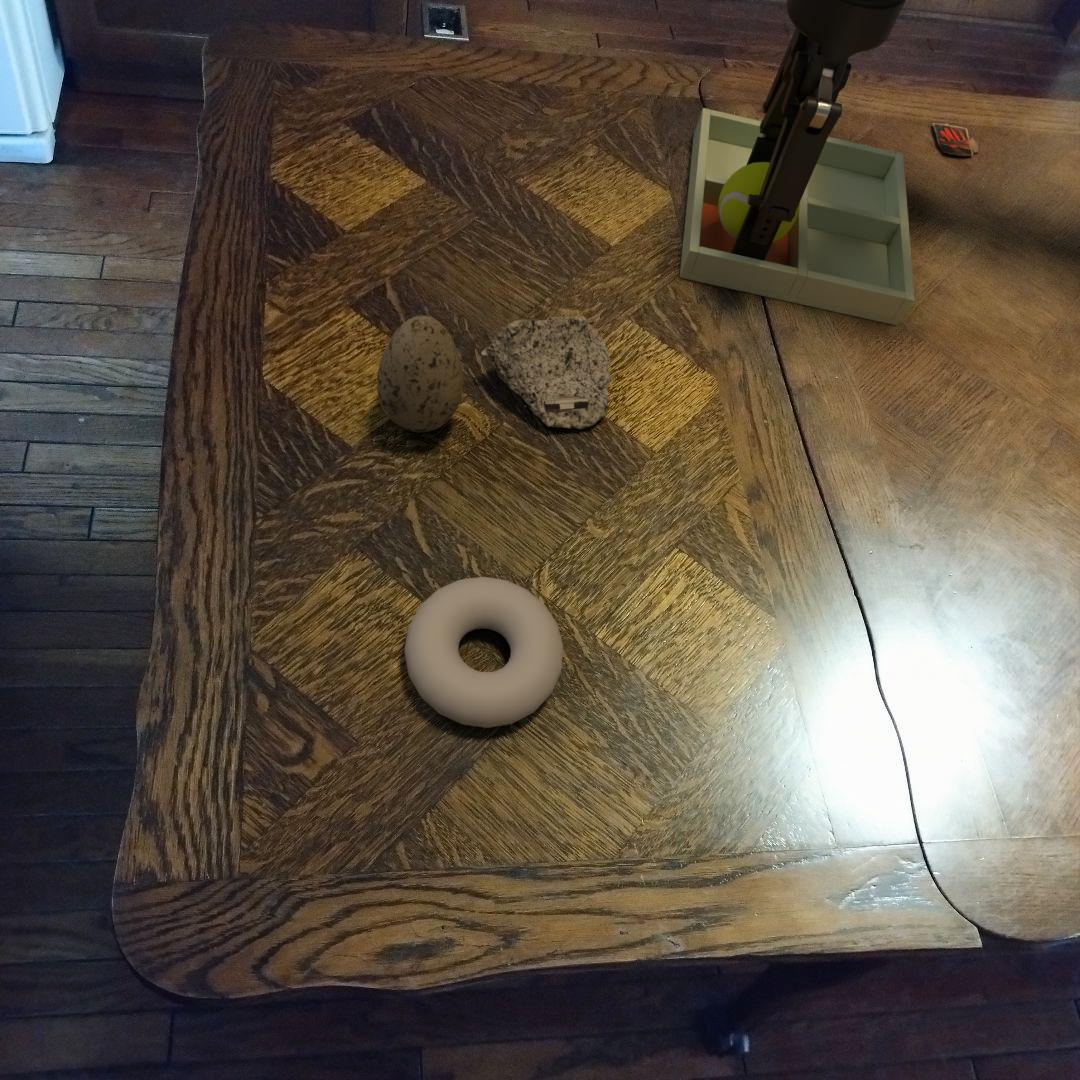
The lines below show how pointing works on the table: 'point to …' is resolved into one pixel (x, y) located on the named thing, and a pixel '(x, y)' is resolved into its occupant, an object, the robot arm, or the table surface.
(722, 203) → the tennis ball
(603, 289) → the table surface
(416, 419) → the decorative egg
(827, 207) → the grid
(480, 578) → the donut
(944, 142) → the matchbox
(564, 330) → the rock sample
